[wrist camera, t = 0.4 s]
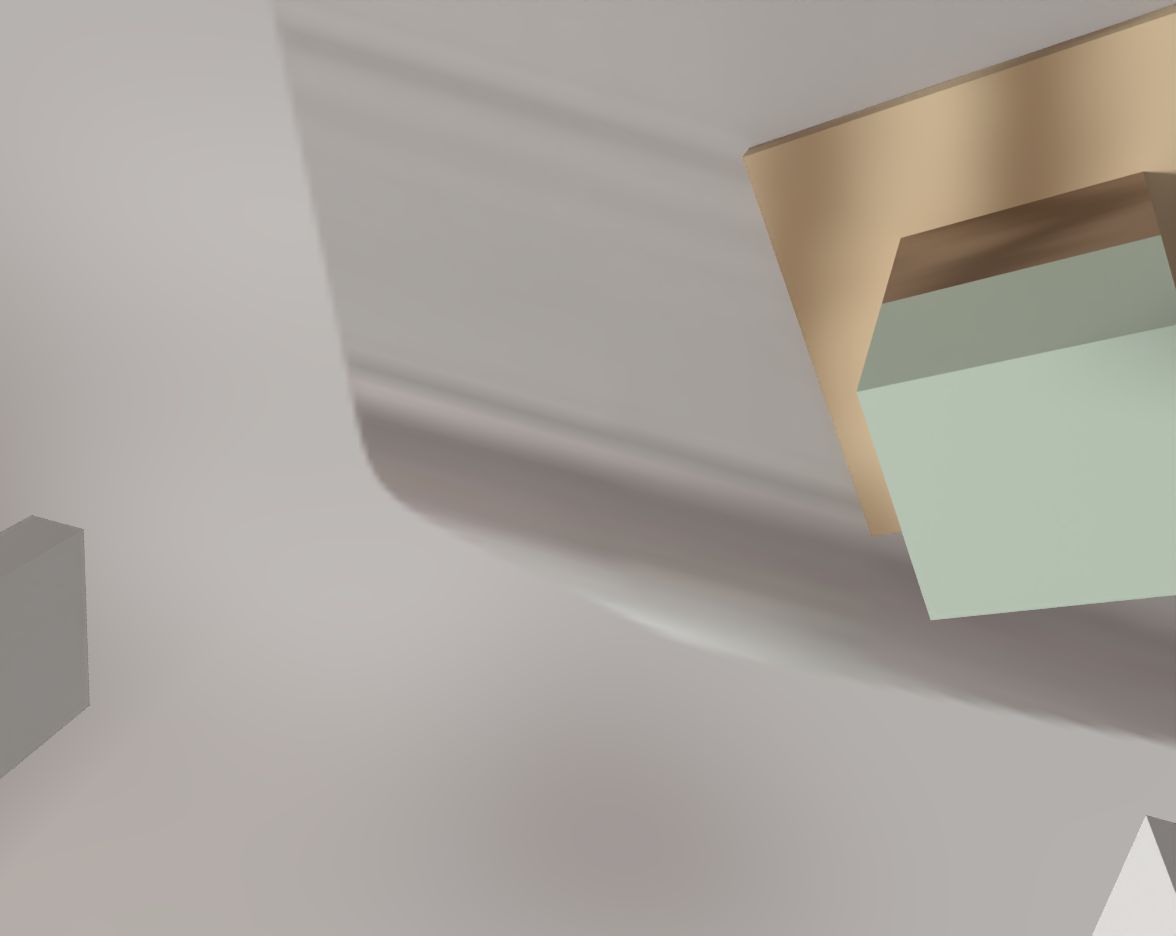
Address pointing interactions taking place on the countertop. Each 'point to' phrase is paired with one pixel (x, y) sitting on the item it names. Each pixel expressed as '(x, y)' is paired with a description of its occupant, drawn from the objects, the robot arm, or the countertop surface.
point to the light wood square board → (954, 187)
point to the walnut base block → (1023, 237)
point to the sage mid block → (1033, 432)
